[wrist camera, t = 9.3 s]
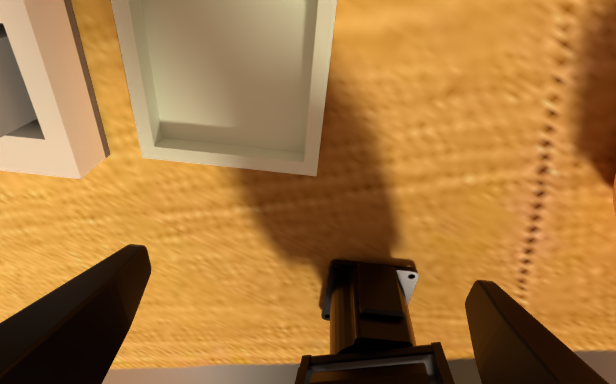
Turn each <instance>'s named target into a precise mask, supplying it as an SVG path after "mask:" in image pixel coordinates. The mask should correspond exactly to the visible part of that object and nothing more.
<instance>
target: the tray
mask: <svg viewBox="0 0 616 384" xmlns="http://www.w3.org/2000/svg"><path fill="white" fill-rule="evenodd" d="M111 5H112V10H113V15H114V20H115V24H116V29H117V34H118V39H119V44H120V49H121V54H122V59H123V64H124V69H125V74H126V79H127V84H128V89H129V94H130V99H131V104H132V109H133V114H134V119H135V124H136V129H137V134H138V139H139V144H140V149H141V154H142V158H148V159H157V160H167V161H176V162H186V163H195V164H205V165H214V166H224V167H233V168H243V169H252V170H262V171H271V172H281V173H290V174H300V175H309V176H317V168H318V159H319V150H320V142H321V133H322V125H323V116H324V108H325V99H326V90H327V82H328V73H329V65H330V56H331V48H332V39H333V30H334V22H335V13H336V5H337V0H111Z"/></svg>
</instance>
